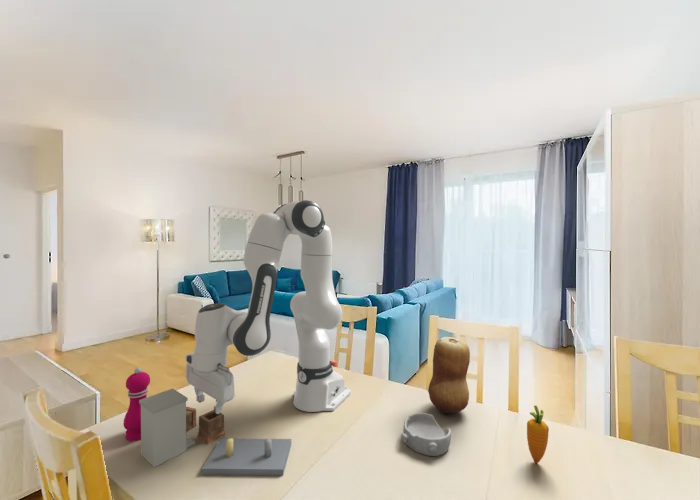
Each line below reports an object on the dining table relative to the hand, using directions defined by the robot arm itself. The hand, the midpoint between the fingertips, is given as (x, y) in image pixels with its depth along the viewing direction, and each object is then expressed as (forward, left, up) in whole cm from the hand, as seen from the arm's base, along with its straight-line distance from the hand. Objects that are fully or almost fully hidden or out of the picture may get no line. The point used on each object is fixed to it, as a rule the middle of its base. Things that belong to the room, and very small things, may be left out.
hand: (208, 406), depth 94 cm
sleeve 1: (+3, -10, -9) cm, 14 cm away
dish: (-38, +51, -9) cm, 64 cm away
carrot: (-48, +78, -9) cm, 92 cm away
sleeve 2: (-1, 0, -9) cm, 9 cm away
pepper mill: (+12, -17, -9) cm, 23 cm away
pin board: (-2, +17, -9) cm, 19 cm away
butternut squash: (-59, +50, -9) cm, 78 cm away
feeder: (+10, -3, -9) cm, 14 cm away
